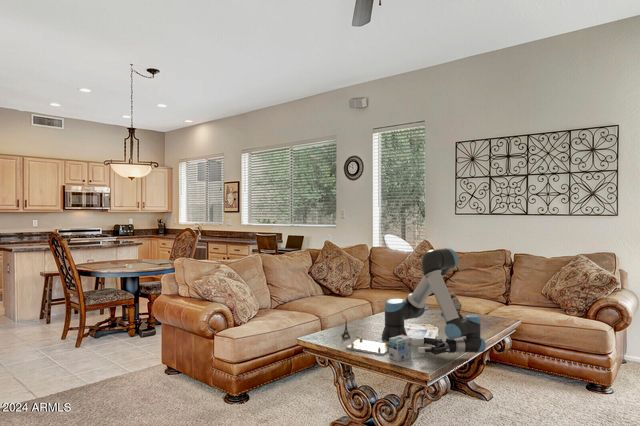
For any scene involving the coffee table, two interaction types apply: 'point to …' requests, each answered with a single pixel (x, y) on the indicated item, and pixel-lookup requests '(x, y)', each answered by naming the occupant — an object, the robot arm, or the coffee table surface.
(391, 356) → the light bulb box
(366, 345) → the plate
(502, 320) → the coffee table surface
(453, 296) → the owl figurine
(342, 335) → the eiffel tower figurine
